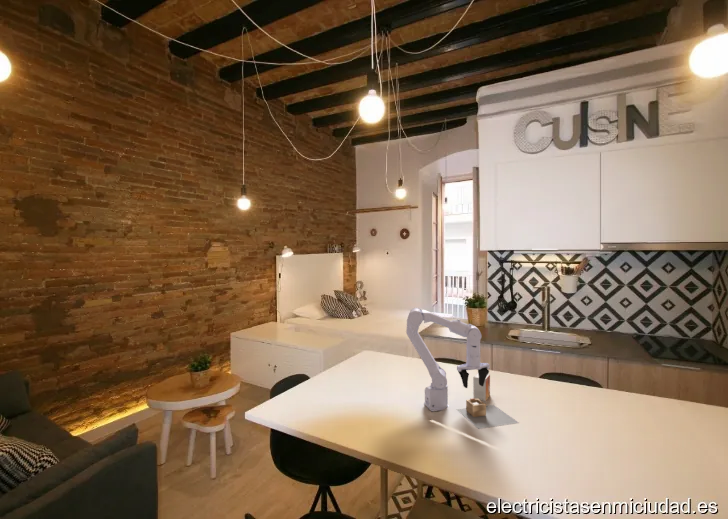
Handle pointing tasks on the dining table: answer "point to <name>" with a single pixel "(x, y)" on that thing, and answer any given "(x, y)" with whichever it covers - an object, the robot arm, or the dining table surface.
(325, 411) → the dining table surface
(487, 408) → the panel
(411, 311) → the robot arm
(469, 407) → the wooden cubby shelf
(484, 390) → the small box
